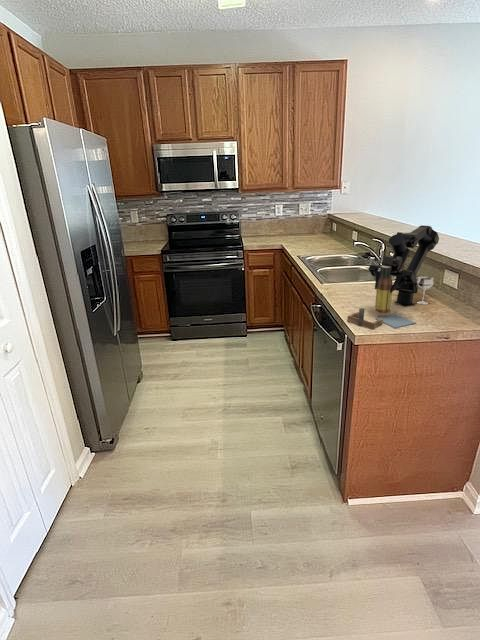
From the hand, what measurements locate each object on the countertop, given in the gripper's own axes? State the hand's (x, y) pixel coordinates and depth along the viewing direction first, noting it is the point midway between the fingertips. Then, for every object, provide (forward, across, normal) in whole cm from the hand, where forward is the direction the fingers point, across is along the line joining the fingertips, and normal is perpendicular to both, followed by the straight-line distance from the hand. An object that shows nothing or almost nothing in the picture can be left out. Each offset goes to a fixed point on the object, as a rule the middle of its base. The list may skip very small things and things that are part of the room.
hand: (382, 290), depth 153 cm
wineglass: (-12, +5, +31) cm, 34 cm away
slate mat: (+8, +7, +9) cm, 14 cm away
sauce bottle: (+6, 0, +8) cm, 10 cm away
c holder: (+16, -1, +1) cm, 16 cm away
